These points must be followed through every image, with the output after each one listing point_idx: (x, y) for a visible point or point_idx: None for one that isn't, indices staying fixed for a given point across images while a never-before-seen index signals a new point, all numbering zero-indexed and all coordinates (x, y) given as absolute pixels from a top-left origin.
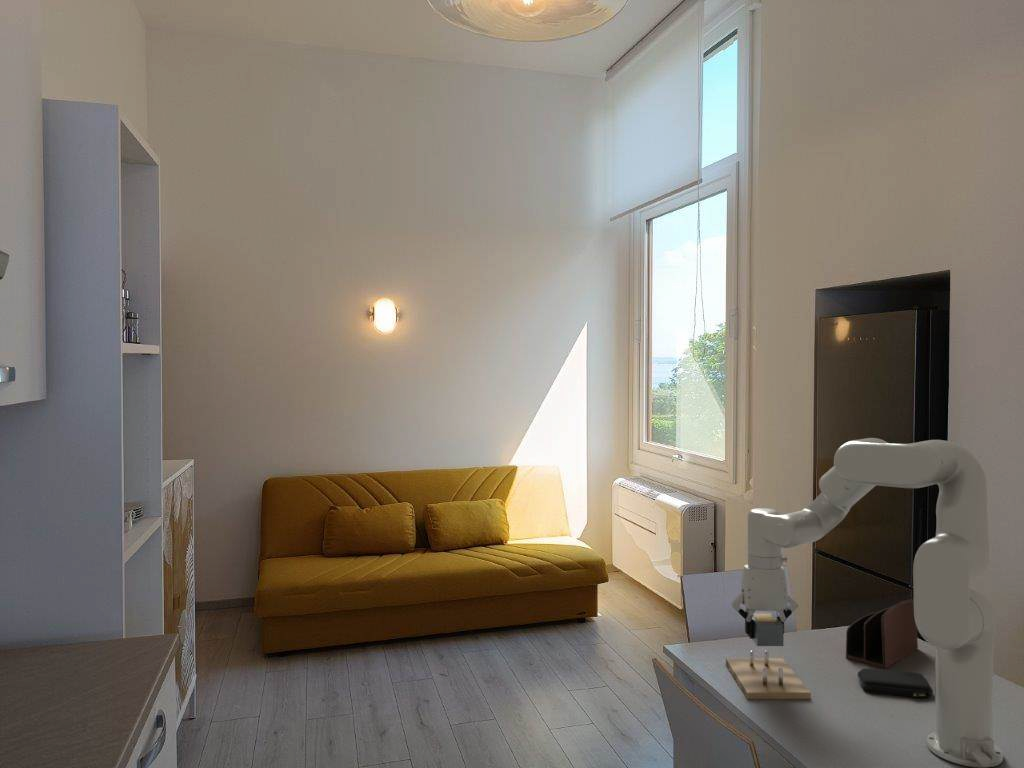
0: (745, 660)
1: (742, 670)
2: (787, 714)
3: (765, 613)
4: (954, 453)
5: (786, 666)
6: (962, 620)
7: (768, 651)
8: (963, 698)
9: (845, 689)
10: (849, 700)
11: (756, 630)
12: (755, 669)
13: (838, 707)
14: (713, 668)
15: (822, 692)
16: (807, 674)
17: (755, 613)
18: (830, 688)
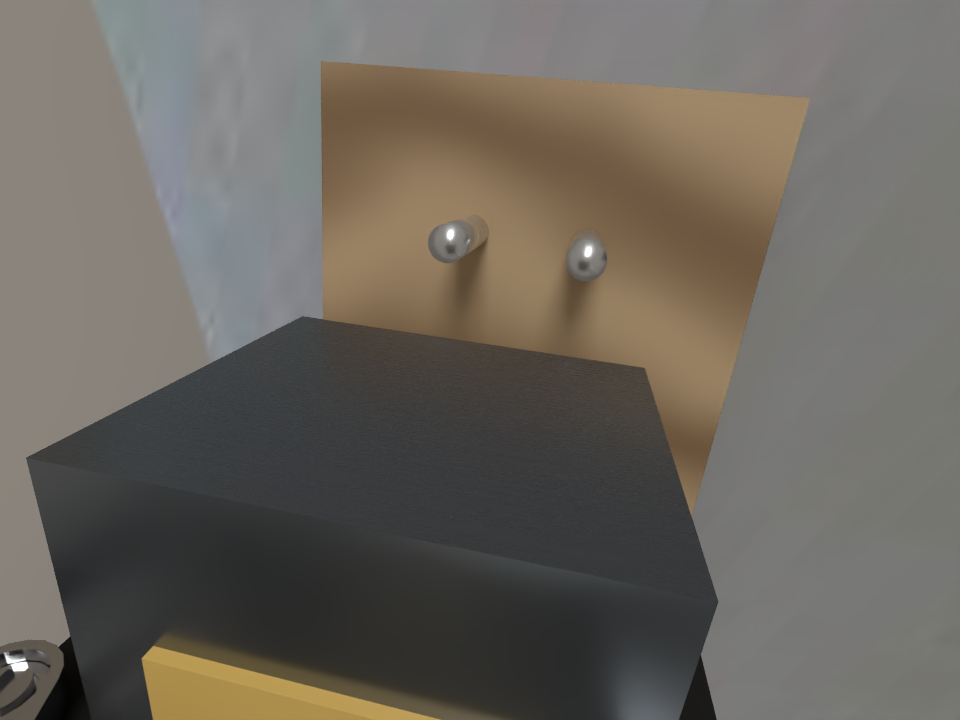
0: (460, 126)
1: (380, 312)
2: None
3: (464, 665)
4: None
5: (733, 289)
6: None
7: (603, 271)
8: None
9: (949, 573)
10: (854, 677)
11: None
12: (473, 308)
13: (735, 714)
14: (247, 143)
15: (769, 574)
16: (863, 328)
17: (217, 605)
18: (860, 543)
